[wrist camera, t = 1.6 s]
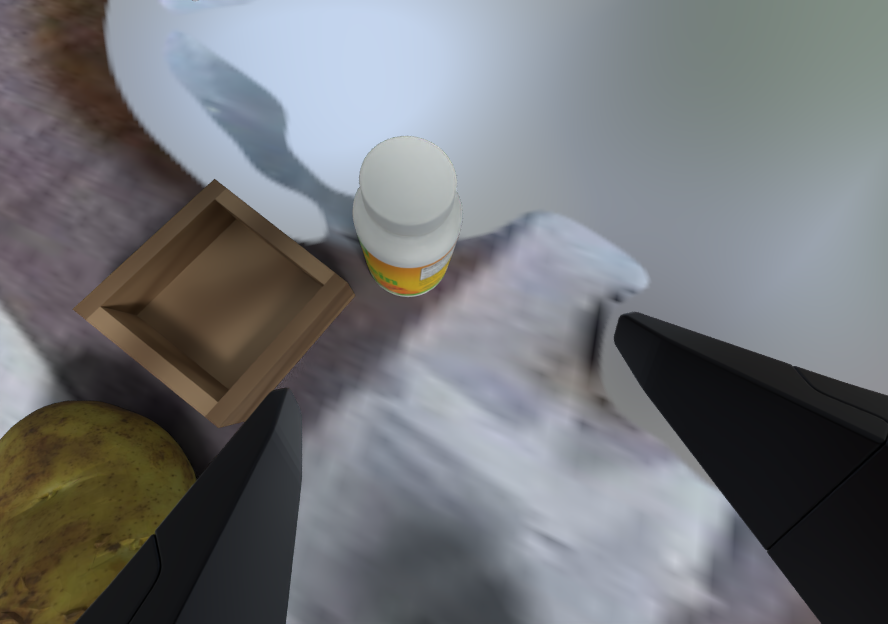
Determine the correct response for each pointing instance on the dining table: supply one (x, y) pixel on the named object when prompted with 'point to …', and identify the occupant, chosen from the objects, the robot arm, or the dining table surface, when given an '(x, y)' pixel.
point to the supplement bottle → (407, 214)
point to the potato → (79, 504)
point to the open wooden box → (218, 305)
